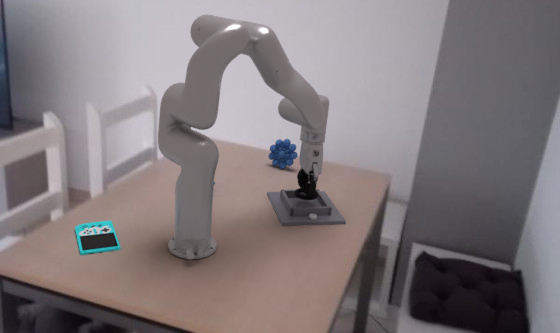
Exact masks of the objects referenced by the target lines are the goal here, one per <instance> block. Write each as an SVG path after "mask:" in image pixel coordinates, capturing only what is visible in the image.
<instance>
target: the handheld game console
mask: <svg viewBox="0 0 560 333" xmlns="http://www.w3.org/2000/svg"><path fill="white" fill-rule="evenodd" d="M74 231H75V237H76V236H77V237H76V240H77V245H78V250H79V255H80V256H86V255H94V254H99V253H107V252H112V251H113V252H114V251H120V250H121V244H120V242H119V239H118V237H117V234H116V231H115V227H114V225H113V221H112V220H104V221H103V220H102V221H94V222H85V223H80V224H77V225H76V226H75V227H74Z"/></svg>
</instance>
